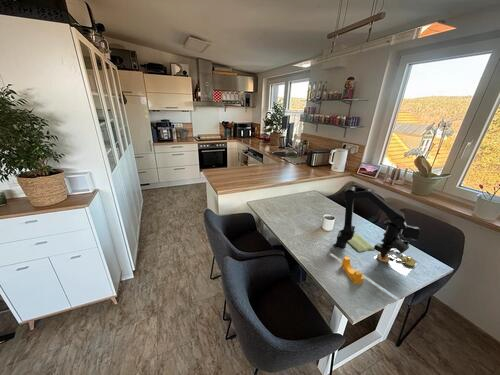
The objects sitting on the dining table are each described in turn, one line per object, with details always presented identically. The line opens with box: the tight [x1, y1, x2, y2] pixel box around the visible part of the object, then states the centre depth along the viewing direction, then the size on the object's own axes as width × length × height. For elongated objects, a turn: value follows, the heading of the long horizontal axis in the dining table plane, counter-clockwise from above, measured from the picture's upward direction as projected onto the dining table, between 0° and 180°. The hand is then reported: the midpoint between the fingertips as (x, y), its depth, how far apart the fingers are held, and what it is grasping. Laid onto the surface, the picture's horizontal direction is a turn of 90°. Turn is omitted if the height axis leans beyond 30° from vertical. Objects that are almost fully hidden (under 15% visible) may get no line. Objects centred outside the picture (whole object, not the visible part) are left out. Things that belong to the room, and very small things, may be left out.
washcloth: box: [347, 233, 376, 254], centre depth 127 cm, size 13×18×3 cm
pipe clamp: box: [341, 256, 365, 285], centre depth 104 cm, size 12×4×6 cm, turn 7°
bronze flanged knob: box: [376, 252, 390, 264], centre depth 113 cm, size 6×6×6 cm
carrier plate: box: [373, 248, 420, 277], centre depth 113 cm, size 18×16×5 cm
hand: (383, 256), depth 113 cm, fingers closed on bronze flanged knob, 3 cm apart
